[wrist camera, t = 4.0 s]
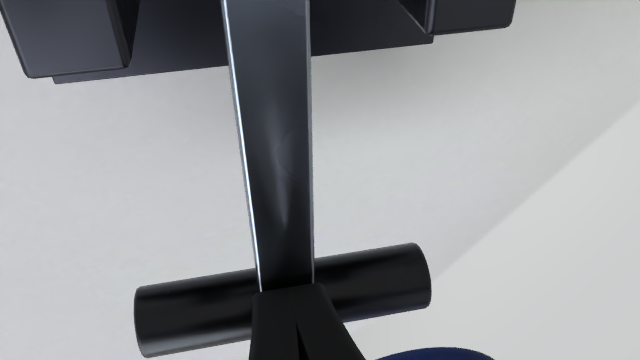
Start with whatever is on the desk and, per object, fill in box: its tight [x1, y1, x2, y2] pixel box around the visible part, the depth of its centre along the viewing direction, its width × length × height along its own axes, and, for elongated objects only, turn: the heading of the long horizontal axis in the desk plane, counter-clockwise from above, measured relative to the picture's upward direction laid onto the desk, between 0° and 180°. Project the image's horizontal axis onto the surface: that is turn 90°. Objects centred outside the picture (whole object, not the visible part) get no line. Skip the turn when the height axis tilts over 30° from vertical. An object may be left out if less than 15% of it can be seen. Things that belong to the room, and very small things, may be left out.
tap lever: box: [134, 0, 431, 358], centre depth 8 cm, size 11×6×2 cm, turn 1°
